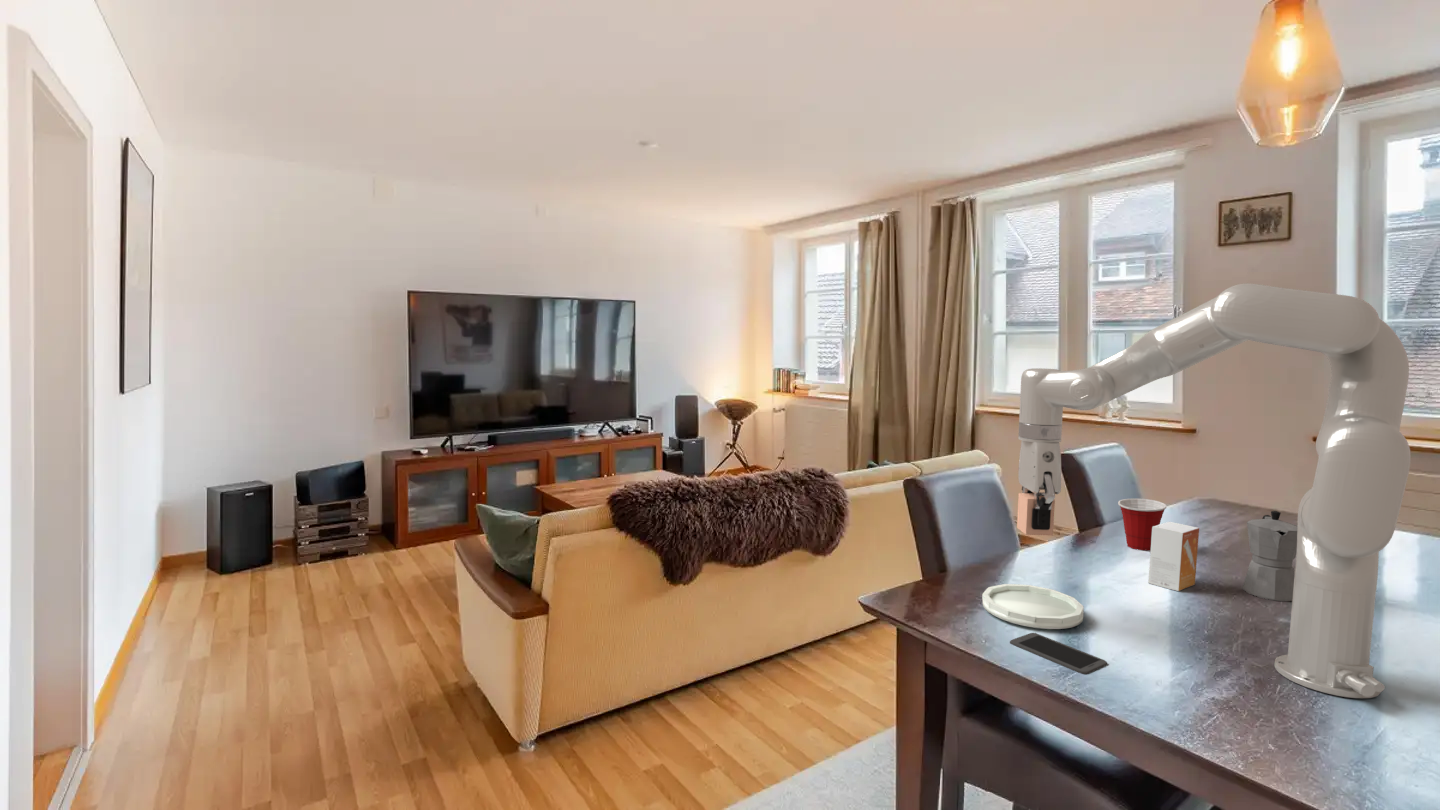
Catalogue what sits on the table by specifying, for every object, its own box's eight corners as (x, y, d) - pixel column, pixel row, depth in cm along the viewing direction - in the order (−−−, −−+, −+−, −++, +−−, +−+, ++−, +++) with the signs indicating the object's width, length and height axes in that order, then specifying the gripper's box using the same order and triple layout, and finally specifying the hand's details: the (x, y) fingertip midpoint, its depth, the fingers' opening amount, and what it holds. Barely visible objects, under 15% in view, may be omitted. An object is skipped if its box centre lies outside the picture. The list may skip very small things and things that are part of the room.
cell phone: (1032, 635, 125) (1032, 631, 125) (1109, 666, 113) (1109, 661, 113) (1007, 644, 121) (1007, 640, 121) (1084, 677, 109) (1084, 672, 109)
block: (1052, 535, 130) (1054, 499, 129) (1025, 534, 130) (1027, 498, 130) (1043, 528, 135) (1044, 493, 134) (1016, 527, 135) (1018, 493, 135)
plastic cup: (1106, 544, 180) (1108, 499, 179) (1132, 539, 185) (1135, 496, 184) (1146, 556, 171) (1149, 509, 170) (1173, 550, 175) (1176, 504, 174)
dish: (1100, 634, 124) (1100, 620, 124) (998, 630, 126) (999, 616, 126) (1060, 597, 142) (1060, 585, 142) (971, 594, 144) (972, 582, 144)
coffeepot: (1306, 608, 137) (1313, 521, 135) (1247, 599, 142) (1254, 515, 140) (1287, 584, 151) (1293, 505, 149) (1234, 577, 155) (1240, 500, 153)
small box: (1179, 592, 146) (1183, 532, 145) (1147, 583, 151) (1151, 526, 150) (1196, 585, 150) (1200, 527, 149) (1164, 576, 156) (1168, 520, 154)
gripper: (1079, 439, 122) (1073, 538, 124) (1043, 427, 139) (1038, 514, 141) (1035, 438, 123) (1030, 537, 124) (1005, 426, 140) (1001, 513, 141)
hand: (1035, 524), depth 133 cm, fingers closed on block, 5 cm apart
